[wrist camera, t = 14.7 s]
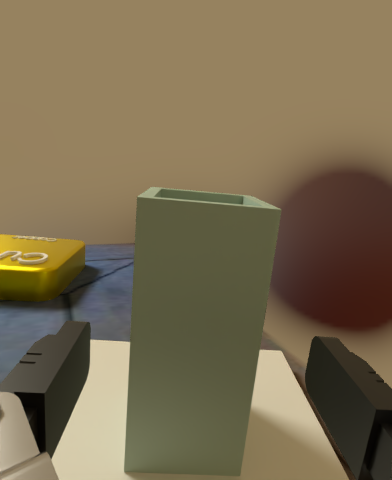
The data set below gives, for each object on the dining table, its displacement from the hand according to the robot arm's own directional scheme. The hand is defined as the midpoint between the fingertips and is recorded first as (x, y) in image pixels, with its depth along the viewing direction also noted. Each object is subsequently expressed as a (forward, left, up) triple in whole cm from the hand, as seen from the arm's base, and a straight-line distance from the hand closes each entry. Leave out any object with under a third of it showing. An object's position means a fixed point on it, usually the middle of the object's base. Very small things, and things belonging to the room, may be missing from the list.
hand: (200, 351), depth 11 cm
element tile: (-39, +3, -11) cm, 41 cm away
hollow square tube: (-5, +4, -9) cm, 11 cm away
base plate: (-4, +4, -10) cm, 12 cm away
